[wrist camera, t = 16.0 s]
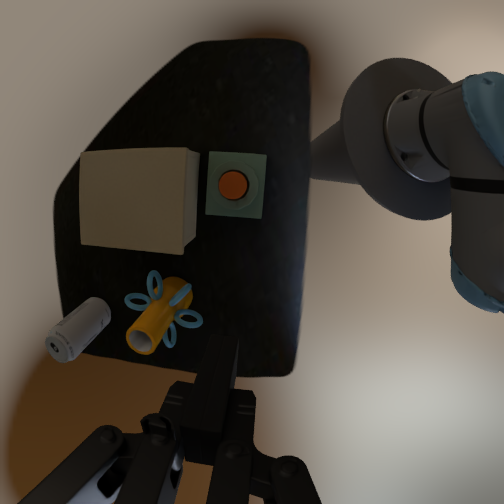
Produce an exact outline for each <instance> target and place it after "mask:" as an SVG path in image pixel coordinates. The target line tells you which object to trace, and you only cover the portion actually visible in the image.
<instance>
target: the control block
mask: <svg viewBox="0 0 504 504" xmlns="http://www.w3.org/2000/svg"><path fill="white" fill-rule="evenodd" d="M266 159H267V155H261V154H248V153H231V152H209V164H208V178H207V195H206V213H205V214H209V215H222V216H235V217H247V218H258V219H261V218H262V207H263V195H264V184H265V172H266ZM228 172H238V173H241V174H242V175H243V176H244V177H245V178H246V180H247V190H246V192H245V193H244V194H243V195H242V196H241V197H239V198H237V199H228V198H226V197H224V196H223V195H222V194H221V192H220V190H219V181H220V179H221V177H222V176H223V175H224V174H226V173H228Z"/></svg>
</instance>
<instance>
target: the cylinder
mask: <svg viewBox="0 0 504 504" xmlns="http://www.w3.org/2000/svg"><path fill="white" fill-rule="evenodd" d="M154 276H155V277H156V280H157V283H158V286H157V287H156V288H155V289H154V290H153V285H152V280H153V277H154ZM191 287H192V285H191V284H189V283H187V282H186V281H185V280H183V279H181V278H179V277H168V278H165V279H164V280H163V281H162V278H161V276H160V274H159V273H158V272H157V271H155V270H152V271H151V272H150V273H149V274H148V277H147V289H148V292H149V295H150V296H151V299H150V298H149V297H148V296H146V295H144V294H141V293H131V294H129V295H127V296H126V297H125V303H126V305H127V306H128V307H130V308H132V309H134V310H145V311H144V312H143V313H142V314H141V315H140V317H139V318H138V319H137V320H136V321H135V322H134V324H133V325H132V326H131V327H130V328H129V330H128V331H127V333H126V340H127V342H128V344H129V346H130V347H131V348H132V349H133V350H134V351H136V352H138V353H140V354H145V355H147V354H151V353H152V352H153V351H154V350H155V348H156V347H157V345H158V343H159V342H160V340H161V339H162V337H163V341H164V343H165V345H166V346H167V347H169V348H171V347H173V346H174V345H175V342H176V329H175V326H174V324H173V322H172V321H173V320H175V321H176V322H177V323H178V324H180V325H181V326H184V327H187V328H196V327H199V326H200V325H202V323H203V318H202V316H201V315H200V314H199V313H197V312H195V311H193V310H189V309H188V307H189V305H190V303H191V301H192V298H193V294H192V290H191ZM132 298H140V299H143V300H145V301H146V302H147V304H145V305H136V304H133V303H131V302H130V299H132ZM184 314H188V315H192V316H194V317H196V318H197V320H198V321H197V322H193V323H191V322H186V321H183V320H182V319H180V318H181V317H182V316H183V315H184ZM169 326H170V329H171V335H172V337H171V342H169V340H168V336H167V329H168V327H169Z"/></svg>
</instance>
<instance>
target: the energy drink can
mask: <svg viewBox="0 0 504 504" xmlns="http://www.w3.org/2000/svg"><path fill="white" fill-rule="evenodd" d="M110 320H111V311H110V308H109V306H108V304H107V303H106V302H105V301H104V300H102V299H100V298H96V297H91V298H89V299H88V300H86V301H85V302H84V303H83V304H81V305H80V306H79V307H78V308H76V309H75V310H74V311H73V312H71V313H70V314H69V315H68V316H66V317H65V318H64V319H63V320H62V321H60V322H59V323H58V324H57V325H55V326H54V327H53V328H52V329H51V330H50V331H49V334H48V337H47V338H46V341H45V344H46V348H47V350H48V352H49V353H50V354H51V356H52V357H53V358H54V359H55V360H57V361H58V362H61V363H66V362H67V361H71V360H74V359H75V358H76V357H77V356H78V355H79V354H80V353H81V352H82V351H83V350H84V348H85V347H86V346H87V345H88V344H89V343H90V342H91V341H92V340H93V339H94V338H95V337H96V336H97V335H98V334H99V333H100V332H101V331H102V330H103V329H104V327H105V326H106V325H107V324H108V323H109V322H110Z"/></svg>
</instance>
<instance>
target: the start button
mask: <svg viewBox="0 0 504 504" xmlns="http://www.w3.org/2000/svg"><path fill="white" fill-rule="evenodd" d="M219 190H220V192H221V194H222V195H223V196H224V197H226V198H228V199H237V198H239V197H241V196H242V195H243V194H244V193H245V192H246V190H247V180H246V178H245V177H244V176H243V175H242V174H241V173H238V172H228V173H226V174H224V175H223V176H222V177H221V179H220V181H219Z"/></svg>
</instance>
